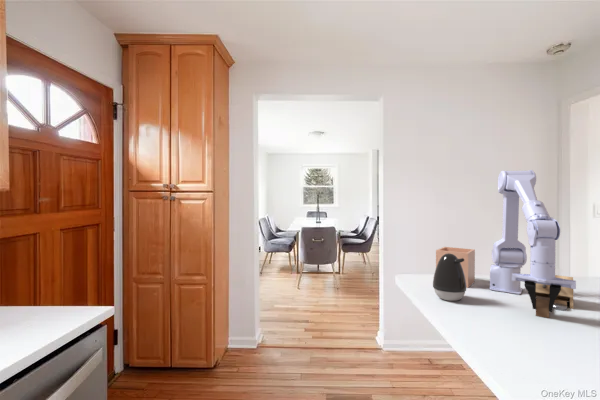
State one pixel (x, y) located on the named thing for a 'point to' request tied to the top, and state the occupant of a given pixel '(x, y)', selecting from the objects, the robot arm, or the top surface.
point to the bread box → (564, 294)
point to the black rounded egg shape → (449, 278)
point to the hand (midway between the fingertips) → (542, 309)
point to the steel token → (559, 307)
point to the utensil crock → (467, 264)
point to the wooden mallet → (545, 306)
